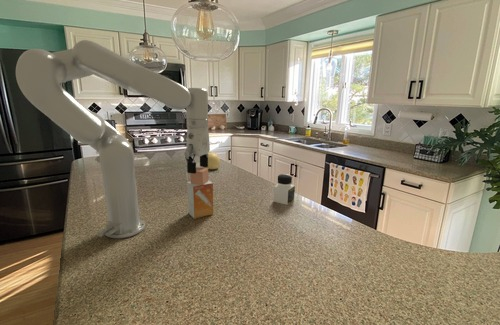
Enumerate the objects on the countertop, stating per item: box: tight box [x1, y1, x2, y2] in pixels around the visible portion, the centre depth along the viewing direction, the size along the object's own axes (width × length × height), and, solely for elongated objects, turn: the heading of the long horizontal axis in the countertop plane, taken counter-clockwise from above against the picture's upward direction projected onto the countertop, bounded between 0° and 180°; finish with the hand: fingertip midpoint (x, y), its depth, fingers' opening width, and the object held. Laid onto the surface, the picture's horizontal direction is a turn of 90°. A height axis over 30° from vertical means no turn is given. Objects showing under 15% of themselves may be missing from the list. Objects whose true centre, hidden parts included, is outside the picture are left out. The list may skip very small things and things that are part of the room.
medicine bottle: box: [272, 173, 296, 206], centre depth 114 cm, size 7×7×12 cm
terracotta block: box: [189, 166, 210, 185], centre depth 98 cm, size 5×5×5 cm
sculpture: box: [203, 151, 221, 170], centre depth 165 cm, size 12×12×11 cm
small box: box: [186, 180, 214, 220], centre depth 100 cm, size 8×6×13 cm
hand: (198, 169), depth 97 cm, fingers open, 9 cm apart
